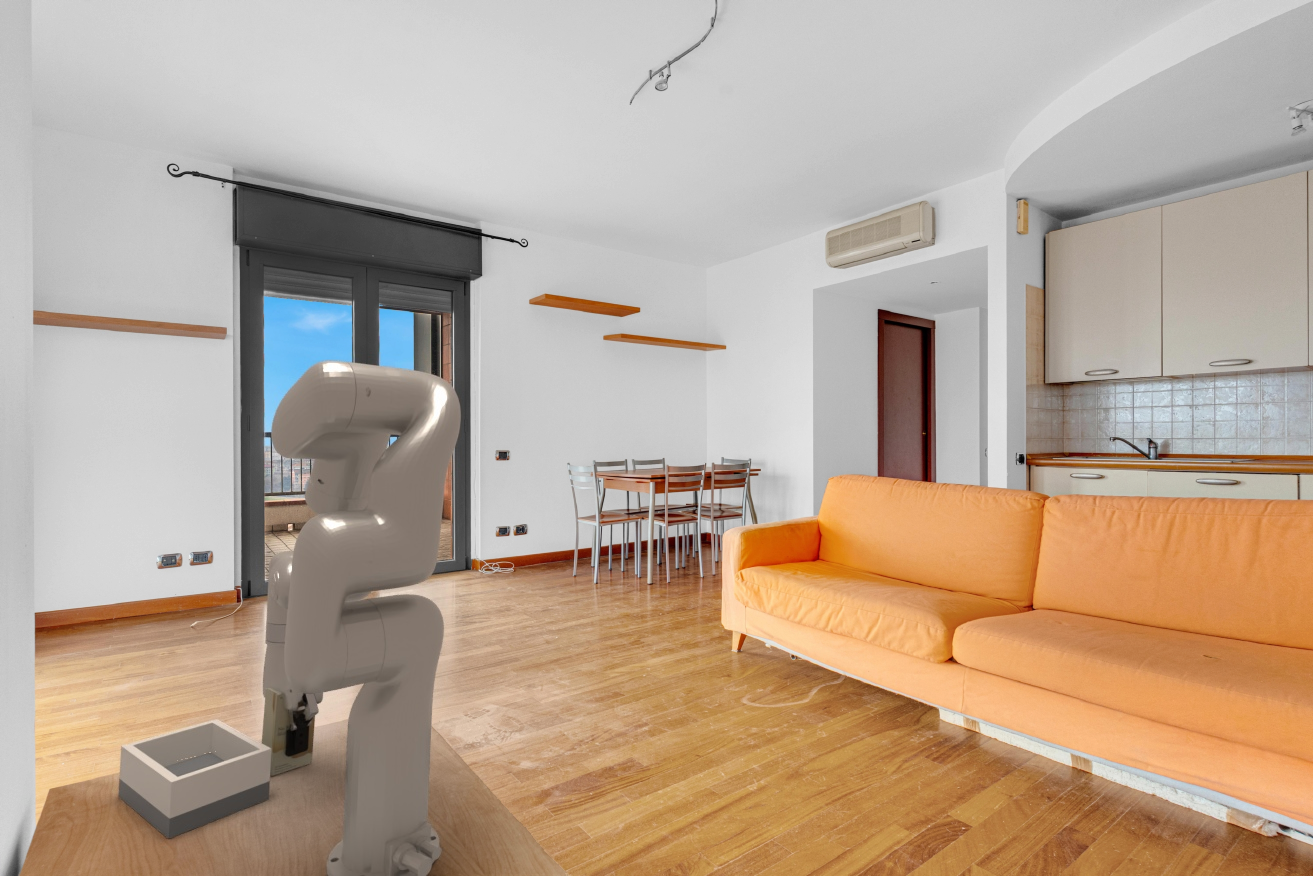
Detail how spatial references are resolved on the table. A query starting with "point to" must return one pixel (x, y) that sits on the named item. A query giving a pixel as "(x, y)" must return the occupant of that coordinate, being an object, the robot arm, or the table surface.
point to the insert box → (193, 776)
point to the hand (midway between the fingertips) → (288, 747)
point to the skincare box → (282, 734)
